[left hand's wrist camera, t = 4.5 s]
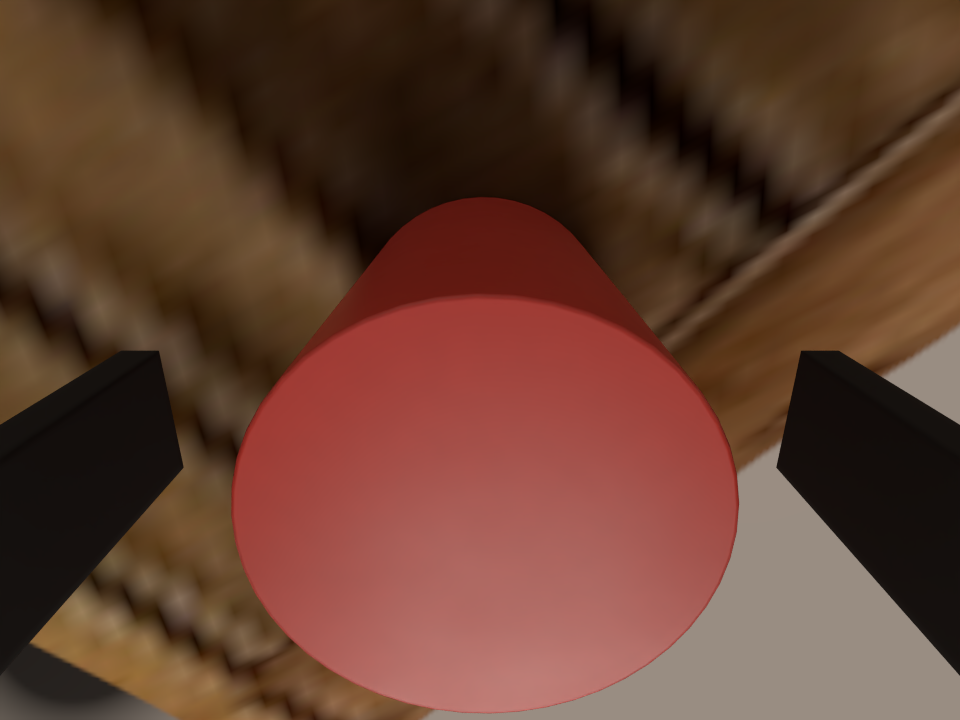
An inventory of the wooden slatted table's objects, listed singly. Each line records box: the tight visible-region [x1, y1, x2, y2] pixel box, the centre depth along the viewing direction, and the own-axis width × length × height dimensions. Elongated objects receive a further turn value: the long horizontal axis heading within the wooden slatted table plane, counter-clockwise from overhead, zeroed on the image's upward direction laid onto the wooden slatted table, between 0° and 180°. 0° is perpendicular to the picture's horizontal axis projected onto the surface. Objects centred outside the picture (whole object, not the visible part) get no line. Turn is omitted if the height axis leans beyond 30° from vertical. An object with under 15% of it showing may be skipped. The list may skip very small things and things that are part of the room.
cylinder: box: [231, 197, 739, 713], centre depth 13 cm, size 7×7×10 cm
